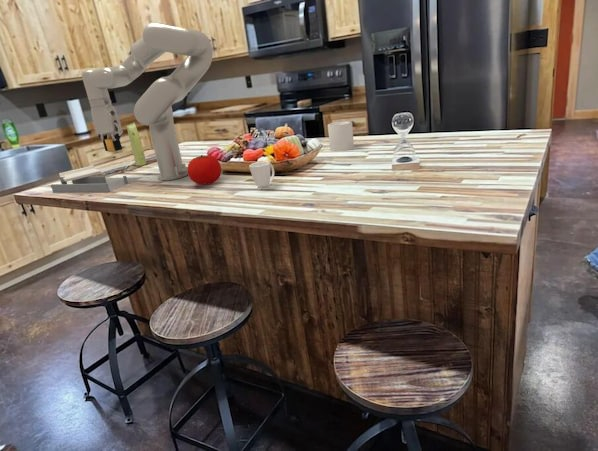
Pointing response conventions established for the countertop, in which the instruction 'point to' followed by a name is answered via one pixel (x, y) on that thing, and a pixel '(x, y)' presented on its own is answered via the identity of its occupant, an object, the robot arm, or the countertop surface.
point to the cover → (78, 174)
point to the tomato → (204, 169)
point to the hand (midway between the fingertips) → (113, 149)
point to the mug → (341, 136)
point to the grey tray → (93, 184)
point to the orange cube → (110, 144)
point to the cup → (262, 174)
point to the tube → (136, 145)
